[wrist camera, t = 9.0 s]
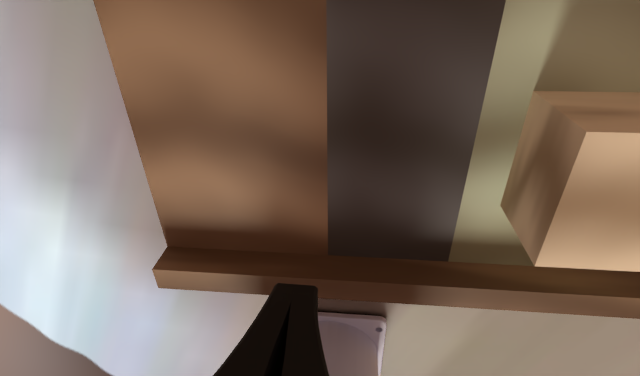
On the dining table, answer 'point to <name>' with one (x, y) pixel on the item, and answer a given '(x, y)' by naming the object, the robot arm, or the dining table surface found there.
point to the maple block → (578, 181)
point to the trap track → (360, 141)
